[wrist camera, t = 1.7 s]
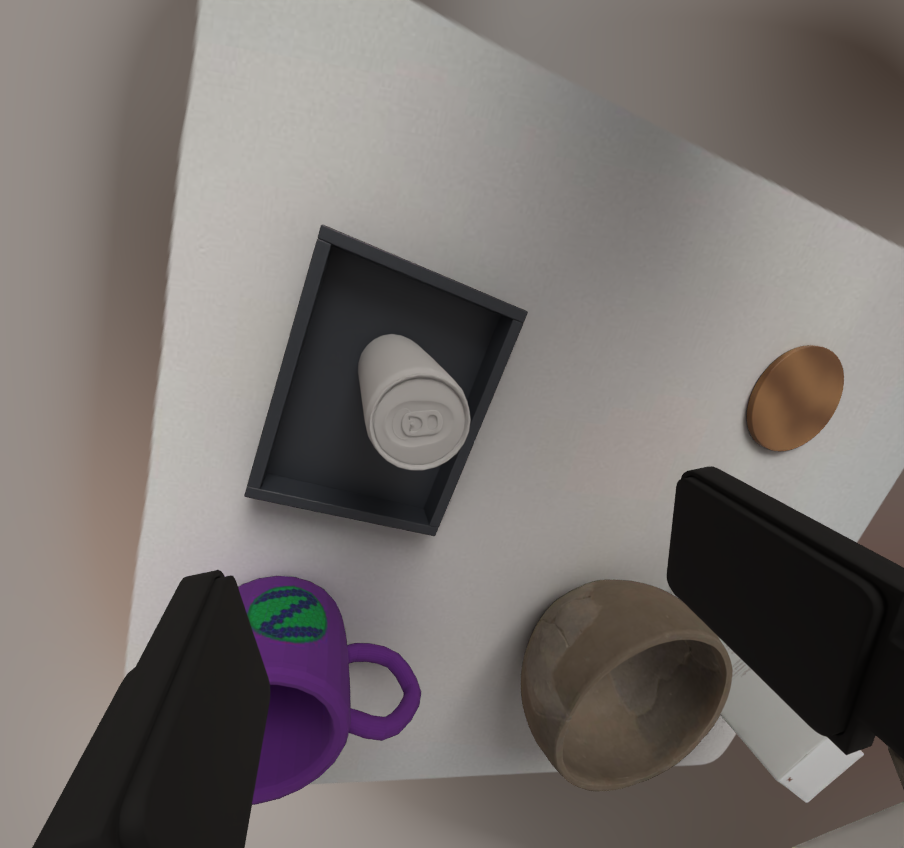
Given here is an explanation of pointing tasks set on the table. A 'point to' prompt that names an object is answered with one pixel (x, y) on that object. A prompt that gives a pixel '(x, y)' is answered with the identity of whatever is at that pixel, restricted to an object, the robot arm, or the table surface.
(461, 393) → the beverage can
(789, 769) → the white packaging box
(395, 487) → the tray
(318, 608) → the mug
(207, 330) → the table surface
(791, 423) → the copper pad
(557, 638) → the bowl
